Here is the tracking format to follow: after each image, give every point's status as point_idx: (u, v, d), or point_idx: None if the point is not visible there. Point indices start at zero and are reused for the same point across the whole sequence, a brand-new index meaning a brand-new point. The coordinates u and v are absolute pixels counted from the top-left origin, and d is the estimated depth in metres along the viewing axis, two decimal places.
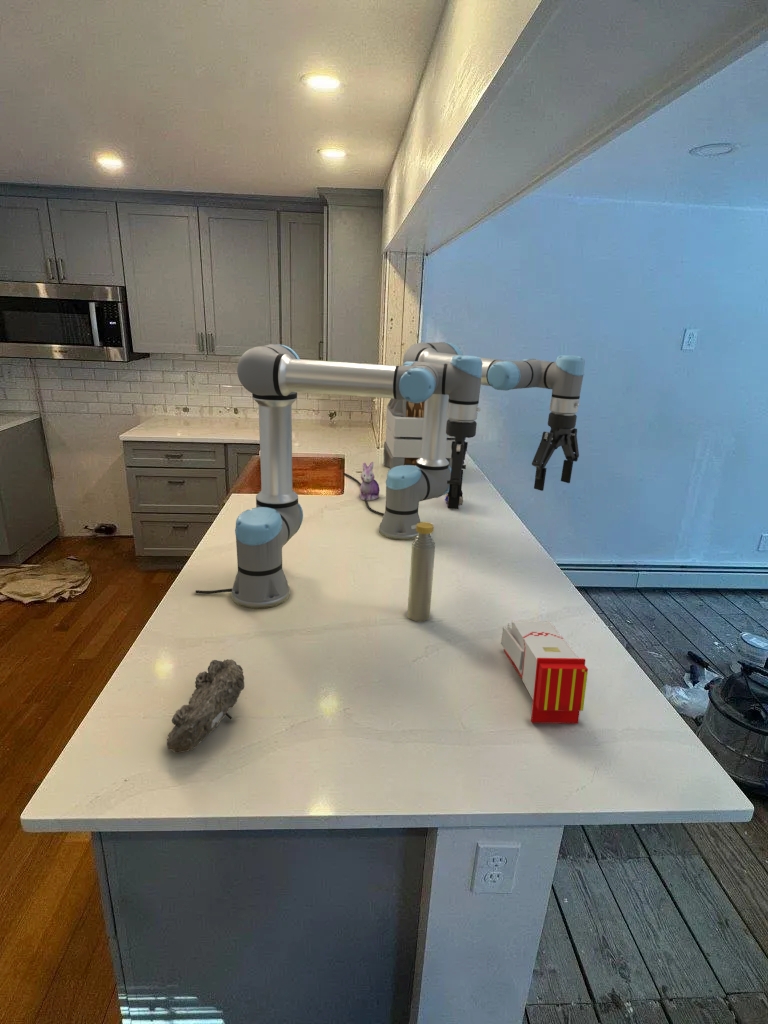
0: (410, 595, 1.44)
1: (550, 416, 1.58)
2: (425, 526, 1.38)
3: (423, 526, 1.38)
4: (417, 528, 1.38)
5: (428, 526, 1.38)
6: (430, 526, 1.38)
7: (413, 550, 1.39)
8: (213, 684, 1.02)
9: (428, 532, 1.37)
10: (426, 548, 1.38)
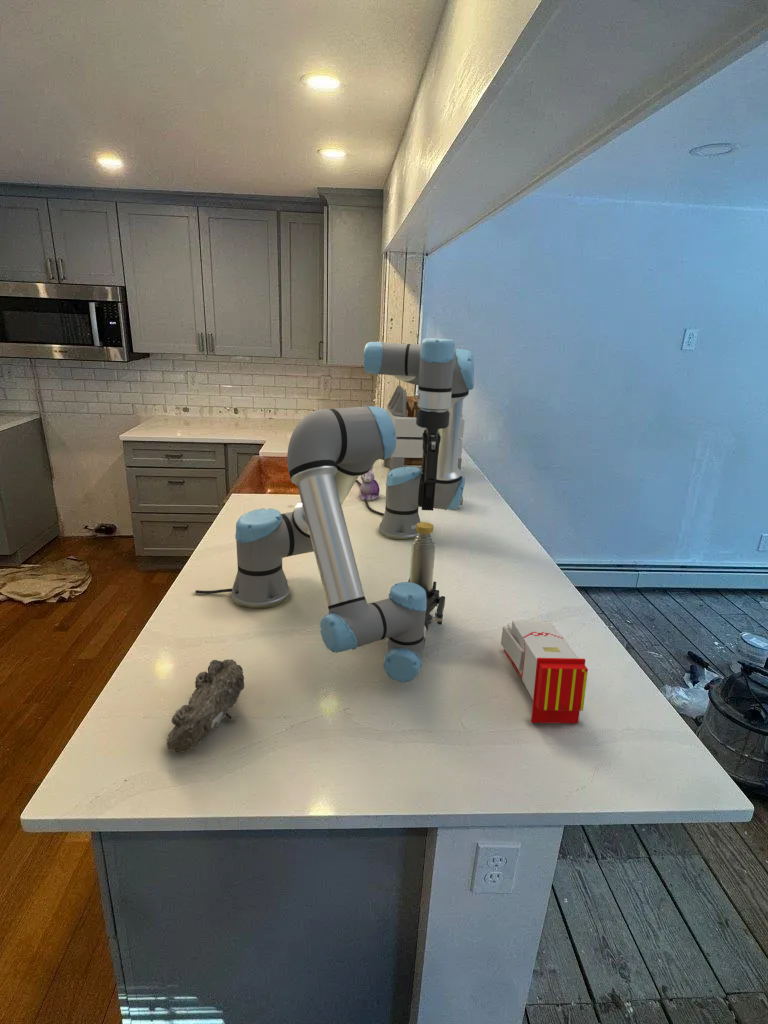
0: None
1: None
2: (425, 526, 1.38)
3: (423, 526, 1.38)
4: (417, 528, 1.38)
5: (428, 526, 1.38)
6: (430, 526, 1.38)
7: (413, 550, 1.39)
8: (213, 684, 1.02)
9: (428, 532, 1.37)
10: (426, 548, 1.38)
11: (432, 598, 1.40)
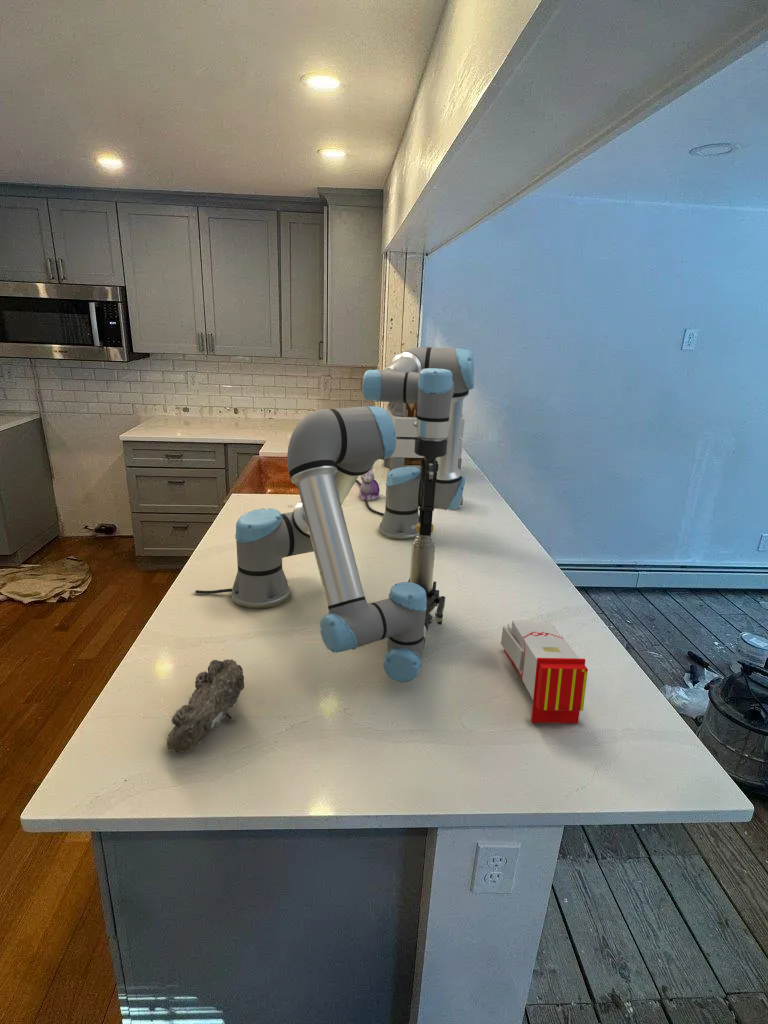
0: None
1: None
2: None
3: None
4: (417, 528, 1.38)
5: None
6: None
7: (413, 550, 1.39)
8: (213, 684, 1.02)
9: None
10: (426, 548, 1.38)
11: (432, 598, 1.40)
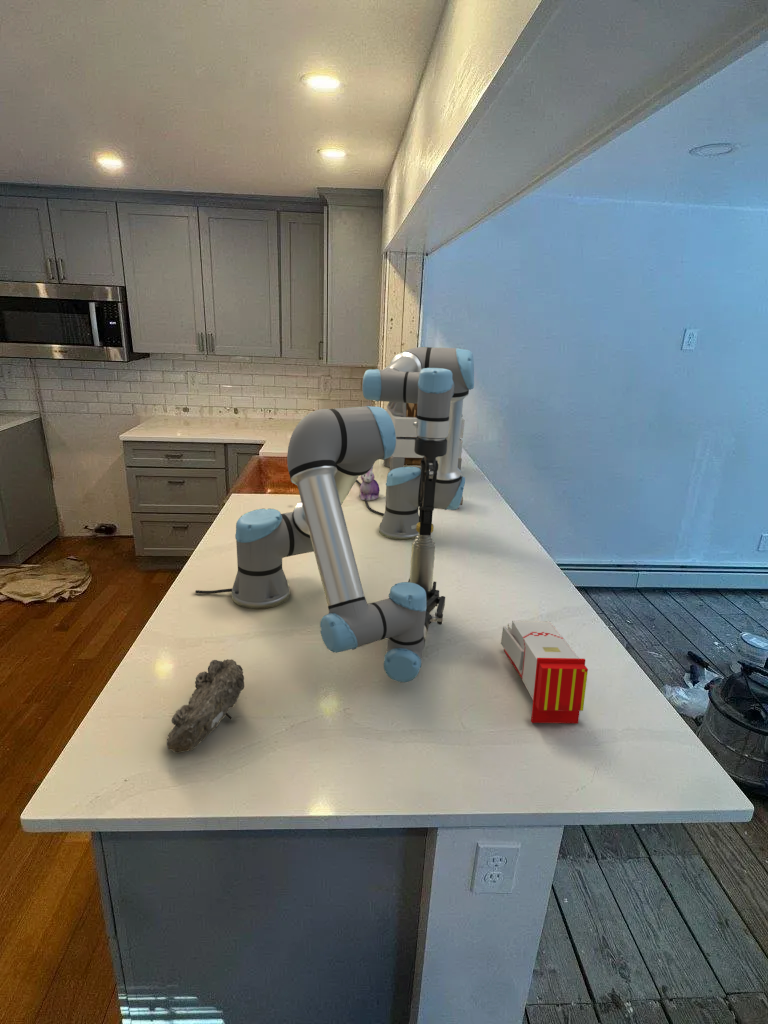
0: None
1: None
2: None
3: None
4: None
5: None
6: None
7: (413, 550, 1.39)
8: (213, 684, 1.02)
9: None
10: (426, 548, 1.38)
11: (432, 598, 1.40)
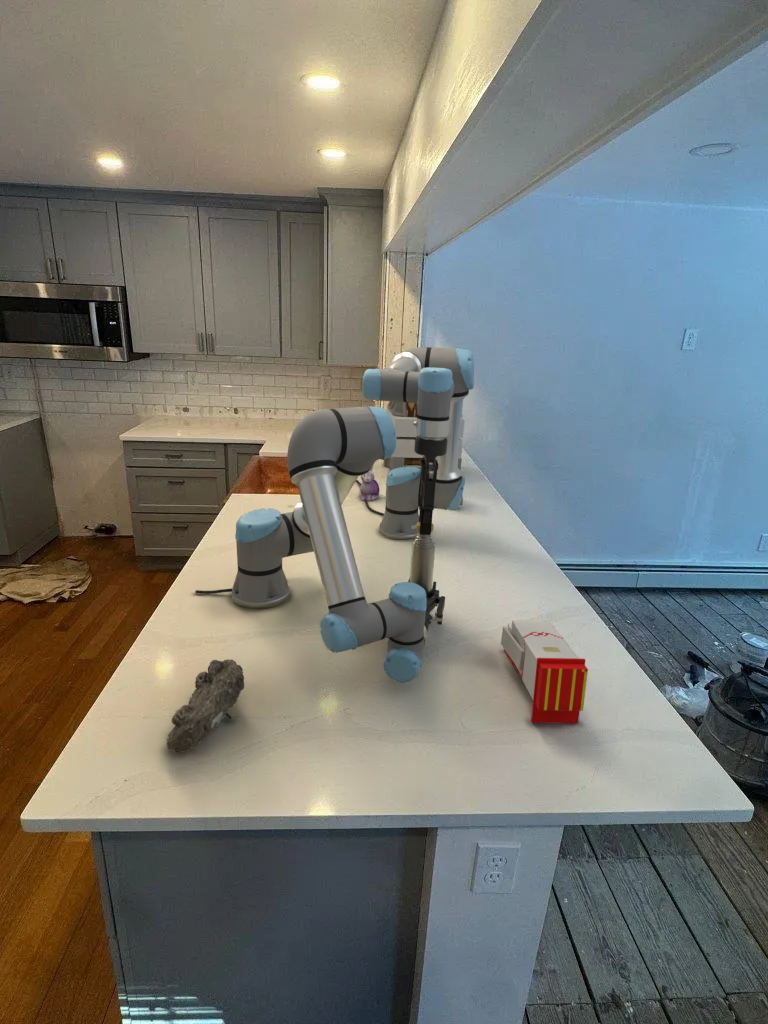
0: None
1: None
2: None
3: None
4: (433, 527, 1.39)
5: None
6: None
7: (413, 550, 1.39)
8: (213, 684, 1.02)
9: None
10: (426, 548, 1.38)
11: (432, 598, 1.40)
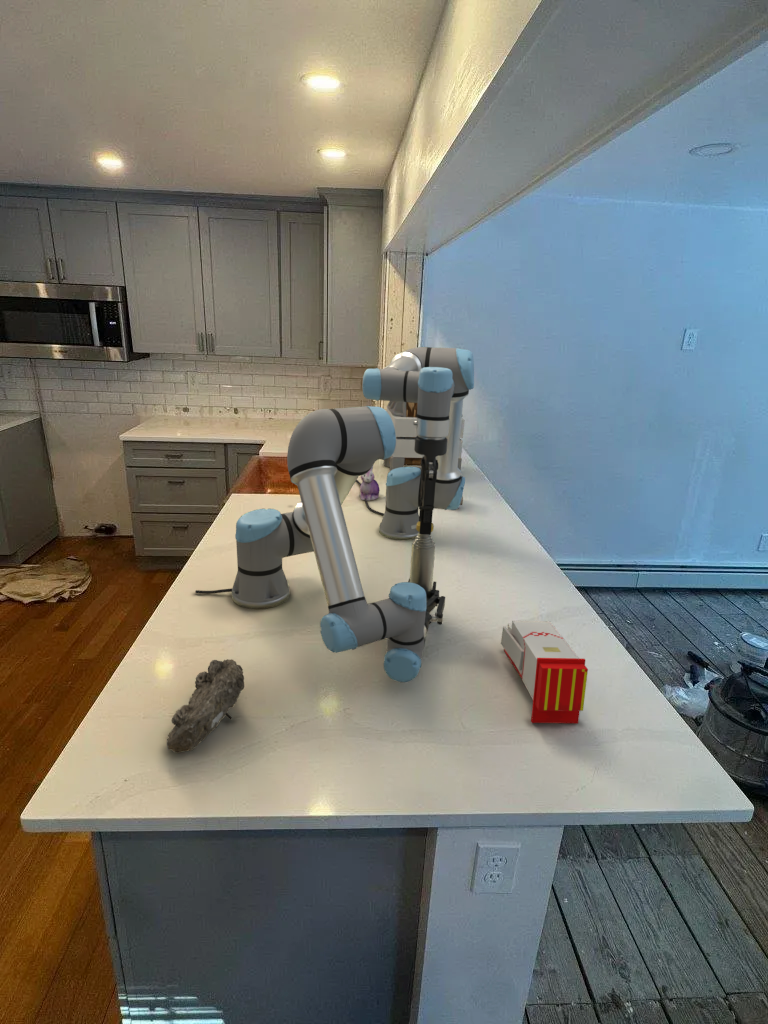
0: None
1: None
2: None
3: None
4: None
5: None
6: (419, 524, 1.38)
7: (413, 550, 1.39)
8: (213, 684, 1.02)
9: None
10: (426, 548, 1.38)
11: (432, 598, 1.40)
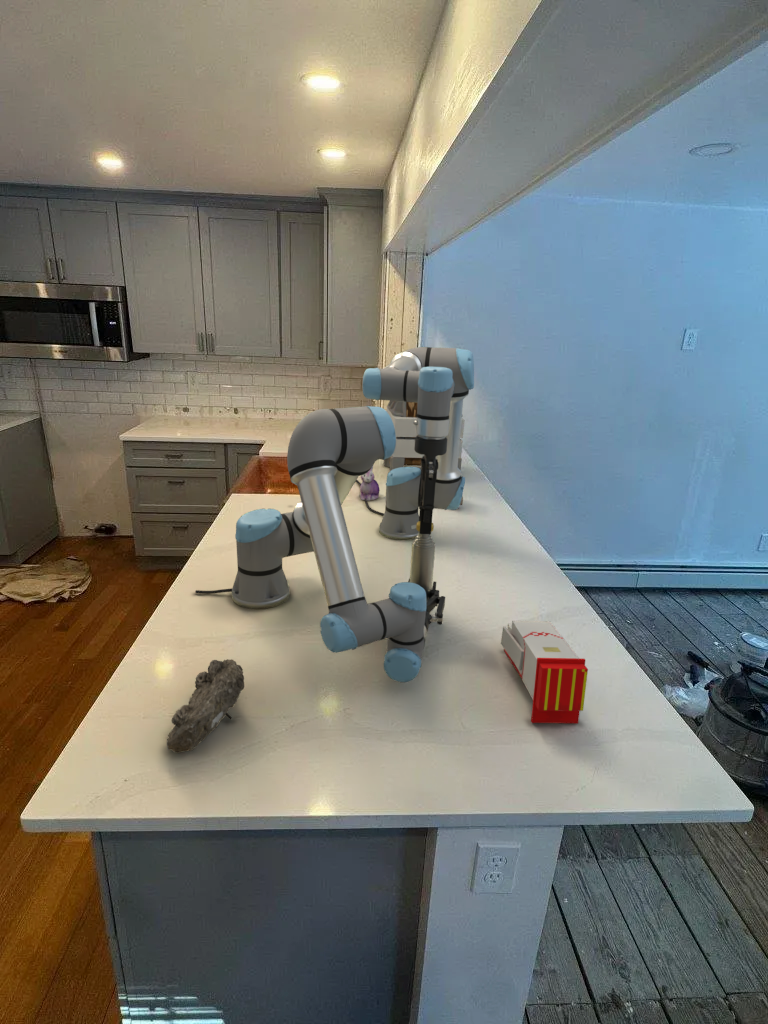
0: None
1: None
2: None
3: None
4: None
5: None
6: None
7: (413, 550, 1.39)
8: (213, 684, 1.02)
9: None
10: (426, 548, 1.38)
11: (432, 598, 1.40)
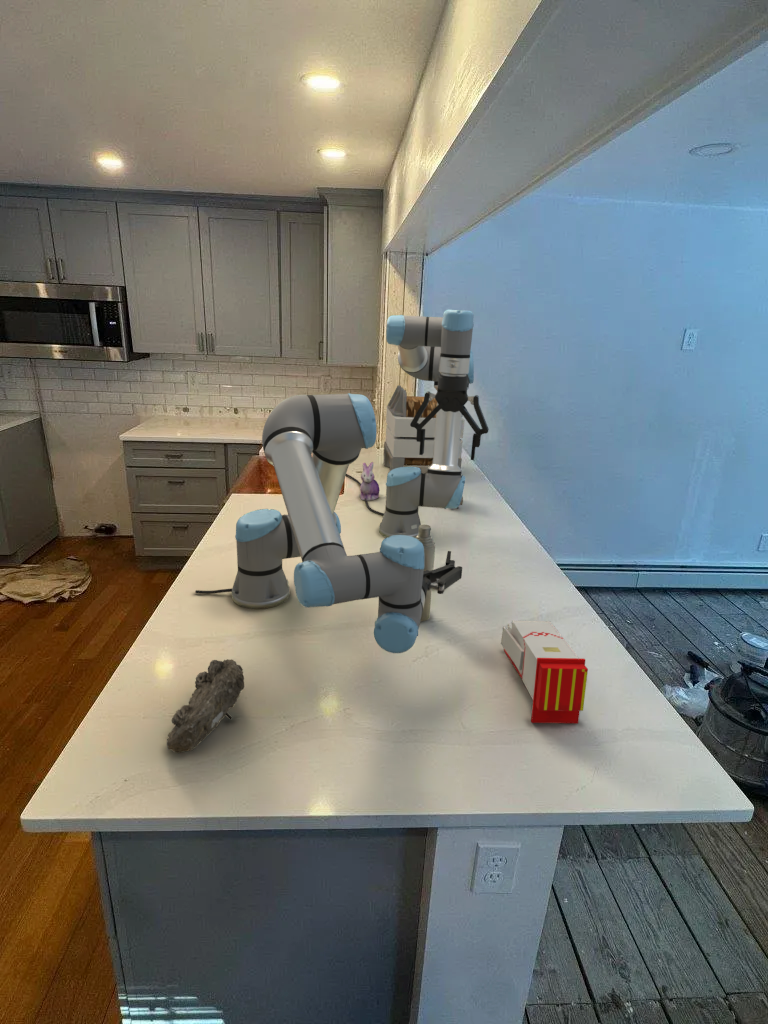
0: None
1: None
2: None
3: None
4: None
5: None
6: None
7: None
8: (213, 684, 1.02)
9: None
10: (426, 548, 1.38)
11: (444, 567, 1.21)
